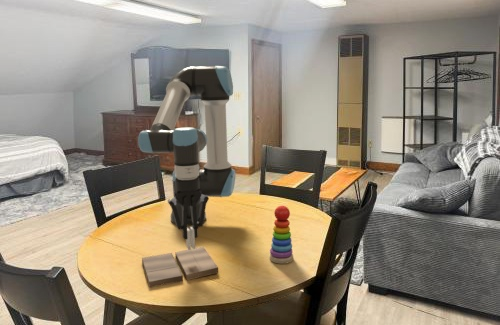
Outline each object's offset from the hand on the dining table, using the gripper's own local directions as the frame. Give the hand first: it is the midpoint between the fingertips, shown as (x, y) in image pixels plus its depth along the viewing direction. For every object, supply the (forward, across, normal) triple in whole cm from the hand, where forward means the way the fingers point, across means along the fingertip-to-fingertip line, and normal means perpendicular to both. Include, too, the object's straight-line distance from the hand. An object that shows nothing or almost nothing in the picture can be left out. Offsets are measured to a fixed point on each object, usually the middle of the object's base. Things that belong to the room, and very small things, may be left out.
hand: (190, 247), depth 137 cm
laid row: (+7, -10, 0) cm, 12 cm away
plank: (+6, +1, 0) cm, 6 cm away
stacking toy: (+7, +29, -8) cm, 31 cm away
